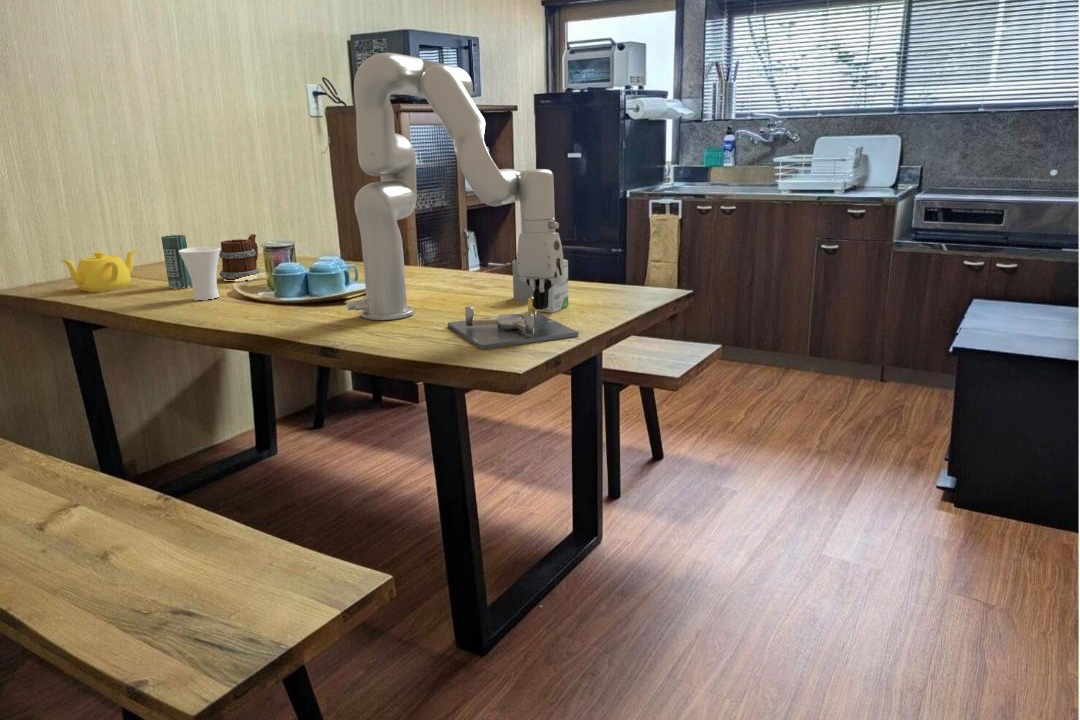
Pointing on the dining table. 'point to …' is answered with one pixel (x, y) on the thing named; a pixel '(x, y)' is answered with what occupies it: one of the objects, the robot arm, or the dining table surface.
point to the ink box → (558, 293)
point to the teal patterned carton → (175, 261)
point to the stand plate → (512, 333)
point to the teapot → (102, 272)
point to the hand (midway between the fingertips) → (541, 308)
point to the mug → (239, 258)
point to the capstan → (506, 319)
